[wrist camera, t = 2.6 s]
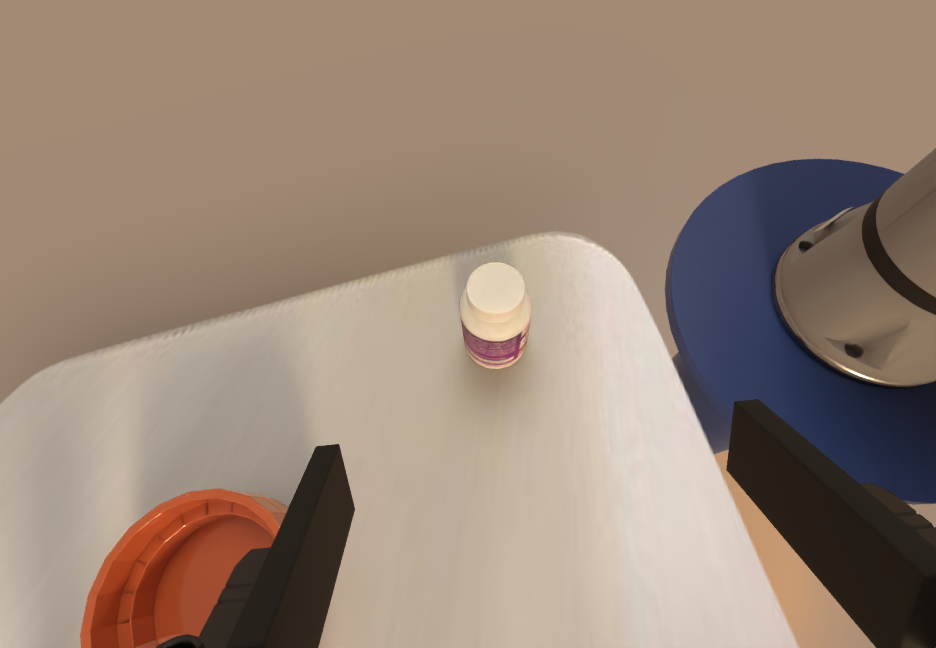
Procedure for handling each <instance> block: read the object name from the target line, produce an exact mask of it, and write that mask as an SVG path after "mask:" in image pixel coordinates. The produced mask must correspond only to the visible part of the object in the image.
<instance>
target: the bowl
mask: <svg viewBox="0 0 936 648" xmlns="http://www.w3.org/2000/svg"><path fill="white" fill-rule="evenodd" d="M287 510H288V508H287V507H286V506H284V505H283V504H282V503H280V502H279V501H277V500H275V499H273V498H269V497H265V496H261V495H257V494H253V493H247V492H240V491H233V490H225V489H211V490H202V491H192V492H187V493H185V494H183V495H181V496H178V497H176V498H174V499H171V500H169V501H167V502H164V503H162V504H160V505H158V506H156V507H155V508H154V509H153V510H151V511H150V512H149V513H147V514H146V515H145V516H144V517H142V518H141V519H140V520H139V521H137V522H136V523H135V524H134V525H132V526H131V527H130V528H129V529H128V530H127V532H126V533H125V534H124V535H123V537H122V538H121V539H120V540H119V542H118V543H117V544H116V546H115V547H114V548H113V549H112V551H111V552H110V553H109V554H108V556H107V557H106V559H105V560H104V562H103V564H102V566H101V569H100V571H99V573H98V575H97V577H96V579H95V581H94V584H93V586H92V588H91V590H90V592H89V595H88V599H87V604H86V609H85V613H84V618H83V623H82V628H81V634H80V637H81V648H156V647H157V646H158V645H160V644H161V643H163V642H165V641H167V640H169V639H171V638H173V637H176V636H181V635H186V634H189V635H194V636H198V637H199V635H200V633H201V631H202V629H203V627H204V625H205V623H206V621H207V619H208V617H209V615H210V614H211V612H212V610H213V608H214V606H215V604H217V602H218V601H217V600H218V598H219V596H220V594H221V592H222V590H223V589H224V588H225V584H226V582H227V581H228V579H229V577H230V575H231V573H232V571H233V569H234V567H235V566H236V564H237V563H238V562H239V561H240V560H241V559H242V558H243V557H244V556H245V555H246V554H247V553H248V552H249V551H250V550H251V549H259V548H269V547H271V546H272V544H273V541H274V539H275V537H276V535H277V532H278V530H279V528H280V526H281V523H282V521H283V519H284V517H285V515H286V512H287Z"/></svg>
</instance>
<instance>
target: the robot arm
mask: <svg viewBox="0 0 936 648" xmlns="http://www.w3.org/2000/svg"><path fill="white" fill-rule="evenodd" d="M851 208H852V207H851ZM849 209H850V208H848V209H846V210H844V211H841V212H840V213H839V214H837V215H836V216H835V217H833V218H832V219H830V220H828V221H825V222H823V223H821V224H818V225H816V226H815V227H813V228H811V229H810V230H808V231H806V232H805V233H803V234H802V235H801V236H799V237H798V238H797V239H796V240H795V241H794V242H793V243H792V244H790V245H789V246H788V247H787V248H786V249H785V250H784V251H783V253H782V254H781V255H780V257H779V258H778V260H777V262H776V264H775V267H774V269H773V273H772V278H771V295H772V300H773V305H774V308H775V311H776V313H777V316H778V318H779V320H780V322H781V324H782V325H783V327H784V329H785V330H786V332H787V333H788V334H789V336H790V337H791V338H792V340H793V341H794V342H795V343H796V344H797V345H798V346H799V347H800V348H801V349H802V350H803V351H804V352H805V353H806V354H807V355H808V356H809V357H811V358H812V359H813V360H815V361H816V362H817V363H819V364H820V365H822V366H823V367H825V368H826V369H828V370H830V371H831V372H833V373H835V374H837V375H839V376H841V377H844V378H846V379H848V380H851V381H854V382H856V383H860V384H863V385H867V386H872V387H876V388H884V389H907V388H913V387H918V386H922V385H925V384H928V383H931V382H934V381H936V149H934V150H933V151H932V152H931V153H930V154H929V155H927V156H926V157H925V158H924V159H923V160H921V161H920V162H919V163H918V164H916V165H915V166H914V167H913V168H912V169H911V170H909V172H907V173H906V174H905V175H903V176H902V177H901V178H900V179H899V180H897V181H896V182H895V183H894V184H893V185H892V186H891V187H889V188H888V189H887V190H886V191H885V192H884V193H883V194H881V195H880V196H879V197H878V198H877V199H875V200H874V201H873V202H871V203H868V204H866V205H864V206H861V207H859V208H856V209H854V210H852V211H849V212H847V213H845V212H846V211H847V210H849ZM843 213H844V214H843ZM727 471H728V472H729V473H730V475H731V476H732V477H733V478H734V479H735V481H736V482H737V483H738V484H739V485H740V487H741V488H742V489H743V490H744V491H745V492H746V494H747V495H748V496H749V497H750V498H751V500H752V501H753V502H754V503H755V504H756V505H757V507H758V508H759V509H760V510H761V511H762V513H763V514H764V515H765V516H766V517H767V519H768V520H769V521H770V522H771V523H772V524H773V526H774V527H775V528H776V529H777V530H778V531H779V533H780V534H781V535H782V536H783V538H784V539H785V540H786V541H787V542H788V543H789V545H790V546H791V547H792V548H793V549H794V550H795V552H796V553H797V554H798V555H799V556H800V558H801V559H802V560H803V561H804V562H805V564H806V565H807V566H808V567H809V568H810V570H811V571H812V572H813V573H814V574H815V576H817V578H818V579H819V580H820V581H821V583H822V584H823V585H824V586H825V587H826V589H827V590H828V591H829V592H830V593H831V595H832V596H833V597H834V598H835V599H836V600H837V602H838V603H839V604H840V605H841V606H842V608H843V609H844V610H845V611H846V612H847V614H848V615H849V616H850V617H851V618H852V619H853V620H854V622H855V623H856V624H857V625H858V627H859V628H860V629H861V630H862V631H863V632H864V634H865V635H866V636H867V637H868V638H869V640H870V641H871V642H872V643H873V644H874V646H875V647H876V648H936V527H935V528H934V527H933V526H932V523H930V522H929V521H928V520H926V519H925V518H924V517H923V516H921V515H920V514H917V513H916V511H915V510H914V509H912V508H911V507H910V506H909V505H907V504H906V503H905V502H904V501H902V500H901V499H900V498H899V497H897V496H896V495H894V494H892V493H890V492H888V491H886V490H884V489H883V488H881V487H879V486H877V485H875V484H873V483H864V484H859V483H858V482H856V481H855V480H854V479H853V478H852V477H850V476H849V475H848V474H847V473H846V472H844V471H843V470H842V469H841V468H840V467H838V466H837V465H836V464H835V463H834V462H832V461H831V460H830V459H829V458H828V457H826V456H825V455H824V454H823V453H822V452H820V451H819V450H818V449H817V448H816V447H814V446H813V445H812V444H811V443H810V442H808V441H807V440H806V439H805V438H804V437H802V436H801V435H800V434H799V433H798V432H796V431H795V430H794V429H793V428H792V427H790V426H789V425H788V424H787V423H786V422H785V421H783V420H782V419H781V418H780V417H779V416H777V415H776V414H775V413H774V412H773V411H771V410H770V409H769V408H768V407H767V406H765V405H764V404H763V403H762V402H761V401H759V400H758V399H755V400H746V401H737V402H734V411H733V419H732V428H731V436H730V444H729V453H728V461H727ZM354 511H355V508H354V503H353V499H352V495H351V491H350V487H349V483H348V479H347V475H346V471H345V467H344V462H343V458H342V454H341V450H340V446H339V444H335V445H326V446H316V448H315V450H314V452H313V455H312V457H311V459H310V461H309V463H308V466H307V468H306V470H305V472H304V475H303V477H302V479H301V481H300V483H299V486H298V488H297V490H296V492H295V495H294V497H293V499H292V501H291V503H290V506H289V508H288V510H287V512H286V515H285V517H284V519H283V521H282V523H281V526H280V528H279V530H278V532H277V535H276V537H275V539H274V541H273V544H272V546H271V547H269V548H259V549H251V550H250V551H249V552H248V553H247V554H246V555H245V556H244V557H243V558H242V559H241V560H240V561H239V562H238V563H237V564H236V566H235V567H234V569H233V571H232V573H231V575H230V577H229V579H228V581H227V582H226V584H225V588H224V589H223V590H222V592H221V594H220V596H219V598H218V600H217V601H218V602H217V604H215V606H214V608H213V610H212V612H211V614H210V615H209V617H208V619H207V621H206V623H205V625H204V627H203V629H202V631H201V633H200V635H199V637H198V636H194V635H189V634H186V635H181V636H176V637H173V638H171V639H169V640H167V641H165V642H163V643H161V644H160V645H158V646H157V647H156V648H318V646H319V643H320V639H321V635H322V631H323V627H324V624H325V620H326V616H327V612H328V609H329V605H330V601H331V597H332V594H333V590H334V586H335V582H336V579H337V575H338V571H339V567H340V564H341V560H342V556H343V552H344V548H345V545H346V541H347V537H348V533H349V530H350V526H351V522H352V518H353V515H354Z"/></svg>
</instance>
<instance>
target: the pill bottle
mask: <svg viewBox="0 0 936 648" xmlns="http://www.w3.org/2000/svg"><path fill="white" fill-rule="evenodd" d="M459 311H460V317H461V323H462V328H463V336H464V341H465V347H466V350H467V352H468V354H469V355H470V357H471V358H472V359H473V360H474V361H475V362H476V363H478V364H479V365H481V366H483V367H486V368H491V369H500V368H505V367H508V366H510V365H512V364H513V363H515V362H516V361H517V360H518V359H519V358H520V357H521V355H522V354H523V352H524V350H525V347H526V343H527V338H528V333H529V327H530V322H531V316H532V299H531V296H530V294H529V292H528V290H527V288H526V287H525V282H524V279H523V277H522V275H521V274H520V273H519V272H518V271H517V270H516V269H515V268H514V267H512V266H510V265H508V264H505V263H501V262H490V263H486V264H484V265H481V266H480V267H478V268H477V269H475V270H474V271H473V272H472V274H471V275H470V277H469V278H468V281H467V285H466V288H465V289H464V291H463V293H462V295H461V298H460V304H459Z"/></svg>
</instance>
